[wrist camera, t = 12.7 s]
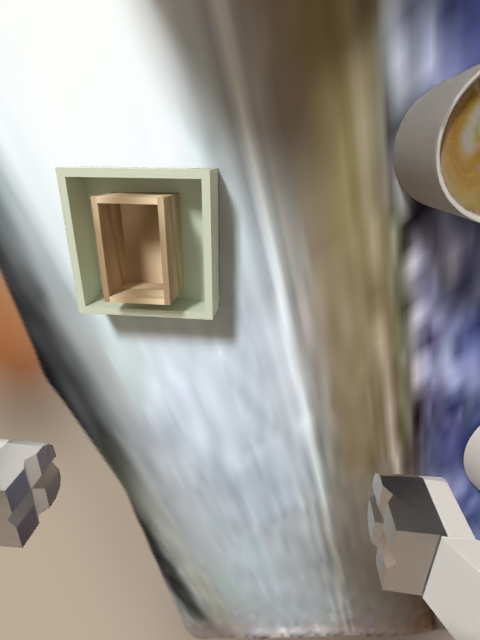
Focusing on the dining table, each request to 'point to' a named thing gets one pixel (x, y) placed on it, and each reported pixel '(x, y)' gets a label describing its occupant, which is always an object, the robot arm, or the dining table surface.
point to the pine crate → (139, 246)
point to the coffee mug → (443, 147)
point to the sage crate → (195, 229)
